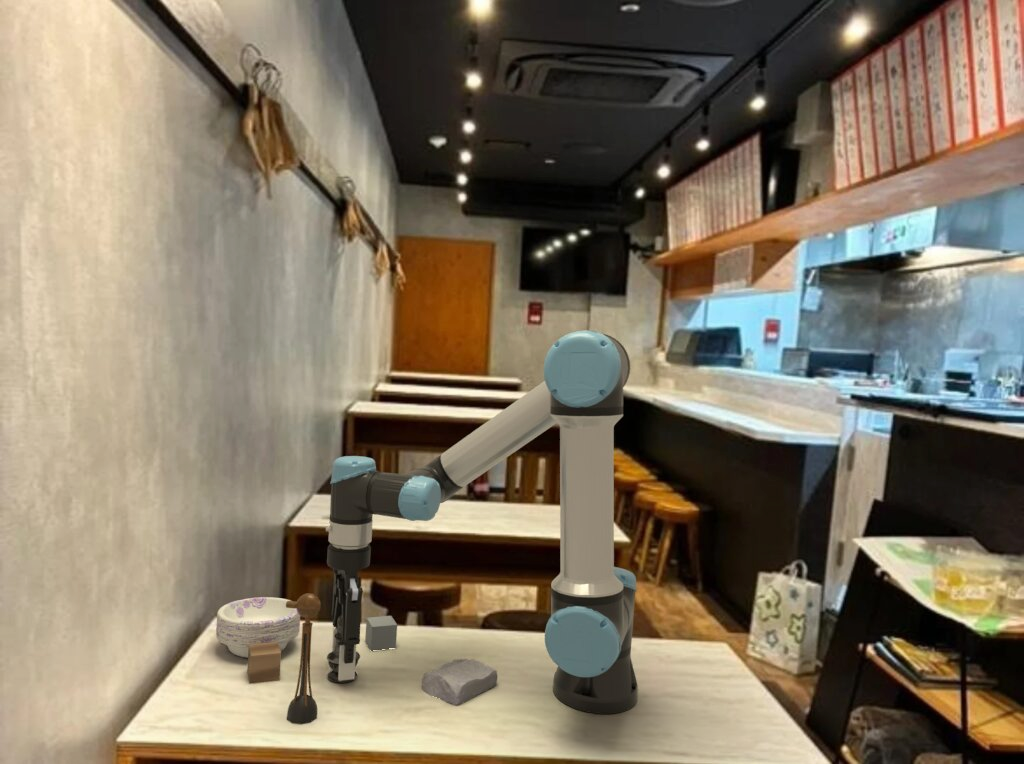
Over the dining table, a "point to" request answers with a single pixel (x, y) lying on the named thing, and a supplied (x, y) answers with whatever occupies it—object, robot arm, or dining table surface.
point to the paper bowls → (256, 623)
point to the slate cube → (381, 633)
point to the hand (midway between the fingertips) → (342, 670)
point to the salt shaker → (334, 656)
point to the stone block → (459, 680)
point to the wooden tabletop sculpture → (304, 662)
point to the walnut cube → (264, 662)
